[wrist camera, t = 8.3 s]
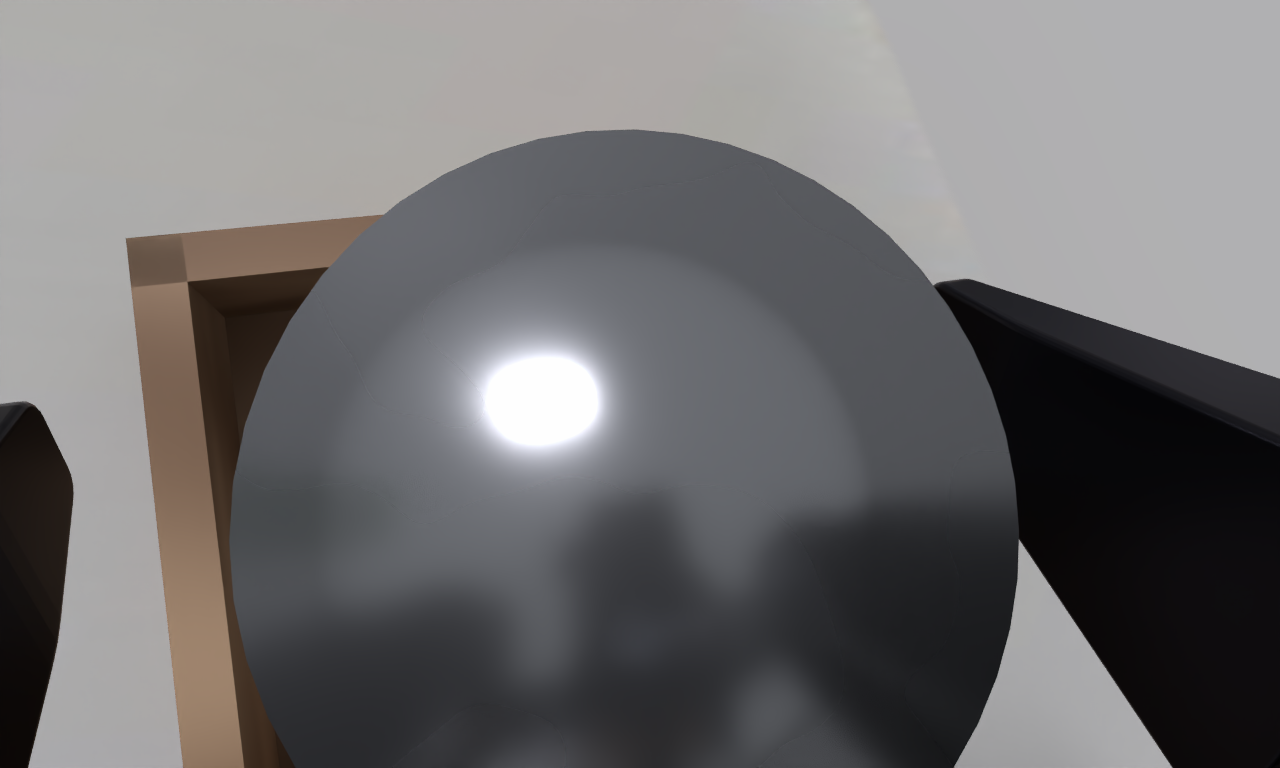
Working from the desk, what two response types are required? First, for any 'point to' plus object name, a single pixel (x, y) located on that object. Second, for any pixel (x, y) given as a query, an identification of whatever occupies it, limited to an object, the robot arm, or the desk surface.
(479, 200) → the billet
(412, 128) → the desk surface
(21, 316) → the desk surface
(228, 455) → the wooden divided tray
